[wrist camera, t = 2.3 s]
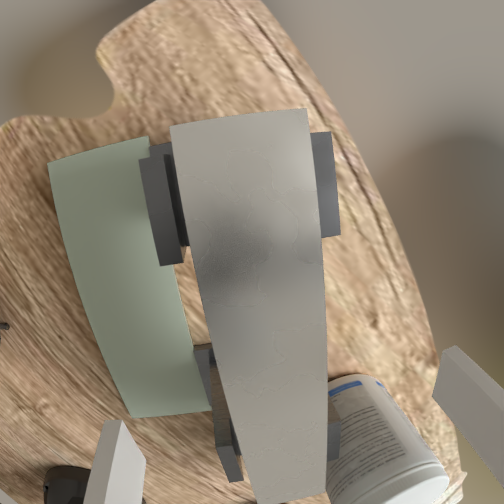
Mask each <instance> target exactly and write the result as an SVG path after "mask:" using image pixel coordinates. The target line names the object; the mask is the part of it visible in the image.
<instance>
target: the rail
mask: <svg viewBox="0 0 504 504" xmlns="http://www.w3.org/2000/svg"><path fill="white" fill-rule="evenodd" d="M169 129H170V135H171V142H172V148H173V155H174V161H175V167H176V173H177V179H178V185H179V190H180V196H181V201H182V207H183V212H184V218H185V223H186V228H187V233H188V238H189V244H190V248H191V253H192V258H193V263H194V268H195V273H196V277H197V282H198V287H199V291H200V296H201V300H202V305H203V309H204V313H205V318H206V322H207V326H208V330H209V335H210V339H211V343H212V347H213V351H214V355H215V359H216V363H217V367H218V371H219V375H220V378H221V382H222V386H223V390H224V394H225V397H226V401H227V405H228V408H229V412H230V415H231V419H232V422H233V426H234V429H235V433H236V436H237V440H238V443H239V447H240V450H241V453H242V457H243V460H244V463H245V466H246V470H247V473H248V476H249V479H250V482H251V485H252V489H253V492H254V495H255V498H256V501H257V504H279V503H284V502H288V501H293V500H297V499H301V498H305V497H309V496H313V495H317V494H321V493H324V492H325V484H326V462H327V424H328V370H327V330H326V306H325V287H324V270H323V255H322V242H321V230H320V218H319V208H318V198H317V188H316V179H315V170H314V161H313V153H312V145H311V137H310V130H309V122H308V115H307V108H303V109H289V110H278V111H268V112H259V113H250V114H242V115H234V116H227V117H220V118H214V119H207V120H201V121H195V122H190V123H184V124H179V125H173V126H169Z"/></svg>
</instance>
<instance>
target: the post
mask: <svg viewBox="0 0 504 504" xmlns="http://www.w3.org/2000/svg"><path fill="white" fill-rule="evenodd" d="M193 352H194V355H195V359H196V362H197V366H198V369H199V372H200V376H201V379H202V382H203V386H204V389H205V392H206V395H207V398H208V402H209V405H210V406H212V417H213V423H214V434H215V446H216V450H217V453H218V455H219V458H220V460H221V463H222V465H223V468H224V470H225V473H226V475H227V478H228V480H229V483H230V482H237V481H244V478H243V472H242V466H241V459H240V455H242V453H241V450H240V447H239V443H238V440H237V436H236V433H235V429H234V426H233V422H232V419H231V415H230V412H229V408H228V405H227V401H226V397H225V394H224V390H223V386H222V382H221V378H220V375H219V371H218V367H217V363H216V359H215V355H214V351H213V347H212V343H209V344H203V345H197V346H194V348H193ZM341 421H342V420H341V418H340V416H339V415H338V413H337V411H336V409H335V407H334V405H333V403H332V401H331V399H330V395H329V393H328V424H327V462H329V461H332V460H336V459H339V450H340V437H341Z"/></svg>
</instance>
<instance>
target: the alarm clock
mask: <svg viewBox="0 0 504 504" xmlns="http://www.w3.org/2000/svg"><path fill="white" fill-rule="evenodd" d="M9 328H10V326H9V324H7V323H5V324H2V323H0V329H5V330H8V329H9ZM0 340H1V338H0Z"/></svg>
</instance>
